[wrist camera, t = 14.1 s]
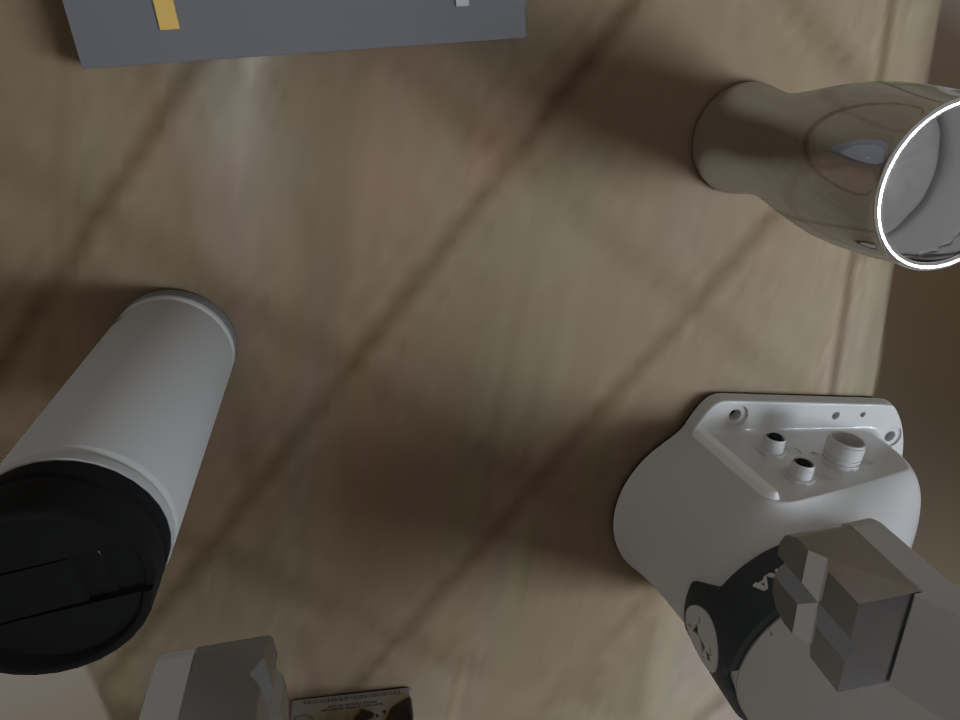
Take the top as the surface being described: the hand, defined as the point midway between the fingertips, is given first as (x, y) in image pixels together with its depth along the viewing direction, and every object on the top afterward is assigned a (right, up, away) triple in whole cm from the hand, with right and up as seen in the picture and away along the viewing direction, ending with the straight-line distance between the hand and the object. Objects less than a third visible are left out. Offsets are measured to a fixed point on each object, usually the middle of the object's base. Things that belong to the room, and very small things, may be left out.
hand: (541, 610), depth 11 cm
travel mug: (-18, +5, +27) cm, 33 cm away
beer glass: (+14, +17, +28) cm, 36 cm away
